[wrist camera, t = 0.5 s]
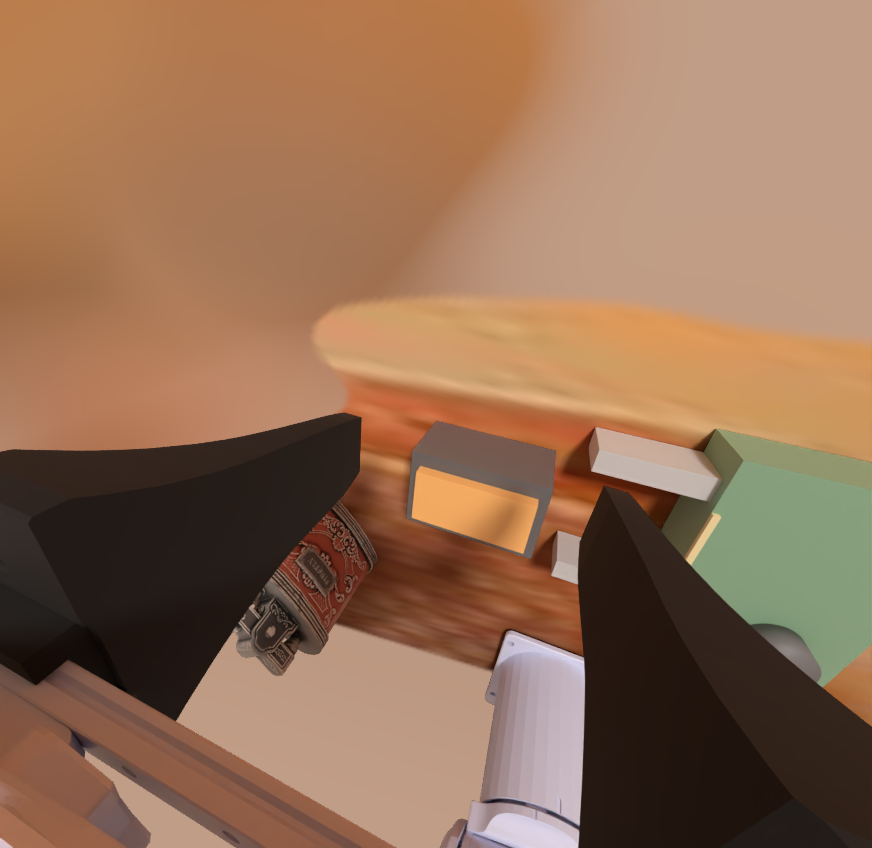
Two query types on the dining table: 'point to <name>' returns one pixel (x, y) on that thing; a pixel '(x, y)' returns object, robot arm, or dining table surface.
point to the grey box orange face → (481, 487)
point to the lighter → (307, 592)
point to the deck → (761, 535)
